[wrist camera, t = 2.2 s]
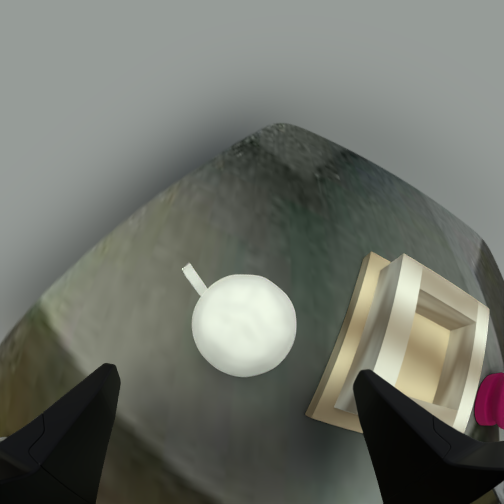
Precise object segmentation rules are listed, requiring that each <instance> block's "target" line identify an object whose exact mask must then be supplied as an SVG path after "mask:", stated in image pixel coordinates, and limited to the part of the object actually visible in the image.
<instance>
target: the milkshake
mask: <svg viewBox="0 0 504 504" xmlns="http://www.w3.org/2000/svg"><path fill="white" fill-rule="evenodd" d="M182 272H183V274H184V275H185V276H186V278H187V279H188V280H189V282H190V283H191V284H192V286H193V287H194V288H195V290H196V291H197V292H198V294H199V295H200V296H201V297H200V299H199V300H198V302H197V304H196V306H195V309H194V312H193V316H192V332H193V337H194V340H195V343H196V346H197V348H198V350H199V351H200V353H201V354H202V356H203V357H204V358H205V359H206V360H207V361H208V362H209V363H210V364H211V365H212V366H214V367H215V368H216V369H218V370H220V371H222V372H224V373H226V374H229V375H233V376H237V377H250V376H255V375H259V374H262V373H265V372H267V371H269V370H271V369H273V368H275V367H276V366H277V365H279V364H280V363H281V362H282V361H283V359H284V358H285V357H286V356H287V354H288V353H289V351H290V349H291V347H292V345H293V342H294V339H295V335H296V314H295V310H294V307H293V305H292V302H291V301H290V299H289V298H288V296H287V295H286V294H285V293H284V292H283V291H282V290H281V289H280V288H279V287H277V286H276V285H275V284H274V283H272V282H271V281H270V280H268V279H266V278H264V277H261V276H257V275H230V276H227V277H224V278H222V279H220V280H218V281H217V282H215V283H214V284H212V285H211V286H210V287H209V288H208V289H207V287H206V286H205V284H204V283H203V281H202V280H201V278H200V277H199V275H198V274H197V272H196V271H195V269H194V268H193V266H192V265H191V263H190V262H188V263H187V264H186V265H185V267H184V268H183V269H182Z"/></svg>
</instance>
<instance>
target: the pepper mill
mask: <svg viewBox="0 0 504 504" xmlns="http://www.w3.org/2000/svg"><path fill="white" fill-rule="evenodd" d="M475 418H476V421H477V422H478V424H480V425H494V424H496V423H497V425H498V426H499V427H500V428H501V429H504V373H496V374H491V375H488V376H487V377H486V378H485V379H484V380H483V382H482V383H481V385H480V388H479V390H478V393H477V396H476V401H475Z"/></svg>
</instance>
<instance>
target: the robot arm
mask: <svg viewBox="0 0 504 504" xmlns="http://www.w3.org/2000/svg"><path fill="white" fill-rule="evenodd" d="M120 385H121V381H120V377H119V374H118V371H117V368H116V366H115V365H114V364H109V363H104V364H103V365H101V366H100V367H99V368H98V369H96V370H95V371H94V372H93V373H91V374H90V375H89V376H88V377H86V378H85V379H84V380H83V381H81V382H80V383H79V384H78V385H76V386H75V387H74V388H73V389H71V390H70V391H69V392H68V393H66V394H65V395H64V396H63V397H61V398H60V399H59V400H58V401H56V402H55V403H54V404H53V405H52V406H50V407H49V408H48V409H47V410H45V411H44V412H43V413H41V414H40V415H39V416H38V417H37V418H35V419H34V420H33V421H31V422H30V423H29V424H27V425H26V426H24V427H23V428H21V429H20V430H18V431H17V432H15V433H14V434H12V435H10V436H9V437H7V438H5V439H4V440H2V441H1V442H0V504H96V498H97V493H98V487H99V482H100V478H101V473H102V468H103V464H104V460H105V455H106V451H107V447H108V443H109V439H110V435H111V432H112V428H113V424H114V420H115V415H116V409H117V402H118V396H119V391H120ZM353 393H354V398H355V402H356V407H357V412H358V417H359V421H360V425H361V428H362V431H363V434H364V438H365V441H366V444H367V447H368V451H369V454H370V457H371V461H372V464H373V467H374V471H375V474H376V478H377V481H378V485H379V489H380V492H381V496H382V500H383V504H504V441H500V442H489V443H486V442H480V441H477V440H475V439H473V438H471V437H469V436H467V435H465V434H464V433H462V432H460V431H458V430H456V429H455V428H453V427H451V426H449V425H448V424H446V423H445V422H443V421H442V420H440V419H439V418H437V417H436V416H434V415H432V414H431V413H430V412H429V411H427V410H426V409H424V408H423V407H422V406H420V405H419V404H417V403H416V402H415V401H413V400H412V399H410V398H409V397H408V396H406V395H405V394H403V393H402V392H401V391H399V390H398V389H397V388H395V387H394V386H392V385H391V384H390V383H388V382H387V381H386V380H384V379H383V378H382V377H380V376H379V375H377V374H376V373H375V372H373V371H372V370H370V369H365V370H360V371H359V373H358V375H357V377H356V379H355V381H354V383H353Z"/></svg>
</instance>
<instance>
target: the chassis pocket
mask: <svg viewBox="0 0 504 504" xmlns="http://www.w3.org/2000/svg"><path fill="white" fill-rule="evenodd" d="M488 321H489V308H487V307H486V306H485V305H483V304H482V303H480V302H479V301H477V300H476V299H475V298H473V297H472V296H470V295H469V294H467V293H466V292H464V291H463V290H461V289H460V288H458V287H457V286H455V285H454V284H452V283H451V282H449V281H448V280H446V279H445V278H443V277H441V276H440V275H438V274H437V273H435V272H433V271H432V270H430V269H429V268H427V267H425V266H424V265H422V264H421V263H419V262H417V261H416V260H414V259H412V258H411V257H409V256H407V255H405V254H402V255H401V256H399V257H398V258H397V259H395V260H394V261H393V262H390V261H388V260H386V259H384V258H382V257H381V256H379V255H377V254H375V253H373V252H370V253H369V254H368V255H367V256H366V257H364V258H363V262H362V265H361V269H360V272H359V275H358V279H357V282H356V285H355V289H354V292H353V295H352V298H351V301H350V304H349V307H348V310H347V313H346V316H345V319H344V322H343V325H342V327H341V330H340V333H339V336H338V338H337V341H336V344H335V346H334V349H333V351H332V354H331V356H330V359H329V361H328V364H327V366H326V369H325V371H324V373H323V376H322V378H321V380H320V383H319V385H318V387H317V390H316V392H315V394H314V396H313V398H312V401H311V403H310V405H309V407H308V409H307V411H306V413H305V415H306V416H308V417H310V418H313V419H316V420H319V421H322V422H325V423H328V424H332V425H335V426H338V427H342V428H345V429H349V430H353V431H356V432H360V433H363V431H362V428H361V425H360V421H359V417H358V412H357V407H356V402H355V398H354V393H353V383H354V381H355V379H356V377H357V375H358V373H359V371H360V370H365V369H370V370H372V371H373V372H375V373H376V374H377V375H379V376H380V377H382V378H383V379H384V380H386V381H387V382H388V383H390V384H391V385H392V386H394V387H395V388H397V389H398V390H399V391H401V392H402V393H403V394H405V395H406V396H408V397H409V398H410V399H412V400H413V401H415V402H416V403H417V404H419V405H420V406H422V407H423V408H424V409H426V410H427V411H429V412H430V413H431V414H432V415H434V416H436V417H437V418H439V419H440V420H442V421H443V422H445V423H446V424H448V425H449V426H451V427H453V428H455V429H456V430H458V431H460V432H462V433H464V432H465V429H466V426H467V423H468V420H469V417H470V413H471V410H472V407H473V403H474V400H475V396H476V392H477V388H478V384H479V379H480V374H481V370H482V364H483V359H484V353H485V346H486V339H487V331H488Z"/></svg>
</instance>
